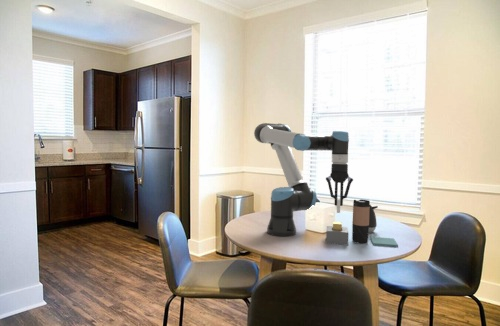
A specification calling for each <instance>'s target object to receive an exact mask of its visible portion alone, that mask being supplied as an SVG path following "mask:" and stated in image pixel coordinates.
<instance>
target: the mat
mask: <svg viewBox="0 0 500 326" xmlns="http://www.w3.org/2000/svg"><path fill="white" fill-rule="evenodd" d="M370 241H371V244H372V246H378V247H379V246H381V247H392V248H399V244H398V243H397V241H396V240H395V238H394V237H393V238H391V237H380V236H379V237H378V236H370Z"/></svg>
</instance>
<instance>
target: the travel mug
mask: <svg viewBox="0 0 500 326" xmlns="http://www.w3.org/2000/svg"><path fill="white" fill-rule="evenodd" d="M352 204H353V205H352V221H351V222H352V225H351V227H352V230H351V231H352V232H351V233H352V236H351V237H352V238H351V239H352V242H353V243H355V244H364V245H365V244H368V242H369V233H368V231H369V209H370V205H371V204H370V200H368V199H359V200H356V199H353V203H352Z"/></svg>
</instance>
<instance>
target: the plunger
mask: <svg viewBox="0 0 500 326" xmlns="http://www.w3.org/2000/svg"><path fill="white" fill-rule="evenodd" d="M332 226H333V230H339V231H342V227H343V223H342V222H340V221H332Z"/></svg>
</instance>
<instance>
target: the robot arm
mask: <svg viewBox="0 0 500 326" xmlns="http://www.w3.org/2000/svg"><path fill="white" fill-rule="evenodd" d="M253 134H254V135H253V136H254V139H256V141H258V142H259V143H261V144H270V148H271V149H272V150H274V151H275V152H276V155H277V158H278V161H279V163H280V167H281V169H282V172H283V174H284V178H285V179H286V183H287V185H288V186H280V187H276V188H273V190H272V191H271V194H270V219H269V222H268V224H267V227H266V233H267V234H269V235H272V236H276V237H290V236H291V237H292V236H294V235H296V234H297V228H296V225H295V220H294V212H299V211H300V212H301V211H307V209H308V210H310V209H309V208H310V207H311V206H312V205H314V206H315V205H316V203H317V198H318V197H317V193H316V191H315V189H313V188H312V187H309V184H308V182H306V181H304V179H303V177H302V174H301V171H300V169H299V166H298V164H297V162H296V159H295V156H294V153H293V151H292V148H293V149H295V150H296V151H301V152H304V151H320V152H321V151H331V168H330V169H331V170H330V174H329V176H326V177H325V180H326V182H327V185H328V189H329V193H330V198H333V199H334V206H336V214H340V213H341V207H343V204H344V199H347V198H348V196H349V195H348V194H349V191H350V187H351V185H352V183H353V181H354V179H353V177H351V176H350V175H349V173H348V171H349V170H348V169H349V168H348V167H349V165H348V163H349V142H350V138H349V131H346V130H333V131H332V133H331V135H329V134H328V135H326V134H325V135H324V134H303V133H297V132H293V131H292V130H291V128H290V126H288V125H287V124H284V123H270V122H269V123H267V122H263V123H260V124H258V125H257V126H256V127H255V128H254V132H253ZM332 180H333V182H334V192H333V188H332V182H331V181H332ZM346 181H347V185H346V188H345V191H344V183H345V182H346ZM339 183H340V186H338V185H339ZM339 187H340V189H338V188H339ZM338 190H339V192H340V194H339V198H338Z"/></svg>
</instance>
